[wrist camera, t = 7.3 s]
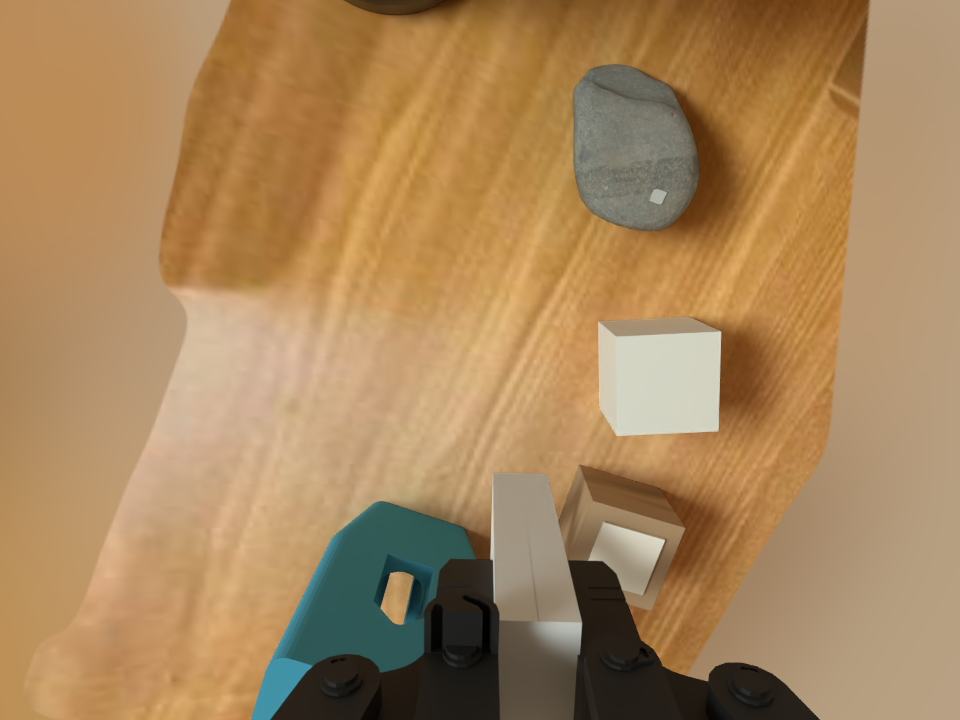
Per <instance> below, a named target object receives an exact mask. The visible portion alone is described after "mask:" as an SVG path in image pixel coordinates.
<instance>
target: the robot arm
mask: <svg viewBox="0 0 960 720" xmlns="http://www.w3.org/2000/svg"><path fill="white" fill-rule="evenodd" d="M345 1H346V2H348V3H350V4H352V5H354V6H357V7H359V8H362V9H365V10H368V11H372V12H376V13H383V14H408V13H414V12H418V11H422V10H425V9H428V8H431V7H434V6H436V5H438V4H440V3H442V2H444V1H446V0H345ZM270 720H820V719H819V718H818V717H817V716H816V715H815V714H814V713H813V712H812V711H811V710H810V709H809V708H808V707H807V706H806V705H805V704H804V703H803V702H802V701H801V700H800V699H799V698H798V697H797V696H796V695H795V694H794V693H793V692H792V691H791V690H790V689H789V688H788V686H787V685H786V684H784V683H783V682H782V681H781V680H779V679H778V678H777V677H776V676H774V675H773V674H772V673H769V672H767V671H765V670H763V669H761V668H759V667H757V666H753V665H749V664H745V663H724V664H721V665H719V666H716V667H715V668H714V669H713V670H712V671H711V673H710V674H709V681H708V682H707V681H704V680H700V679H696V678H692V677H688V676H684V675H681V674H678V673H676V672H673V671H671V670H669V669H667V668H665V667H663V666H662V664H661V661H660V659H659V657H658V656H657V654H656V653H655V651H654V650H653V649H652V648H651V647H649V646H648V645H647V644H645V643H644V642H643V641H641V639H640V637H639V634H638V631H637V628H636V626H635V623H634V620H633V618H632V615H631V612H630V609H629V607H628V604H627V602H626V598H625V596H624V593H623V591H622V587H621V585H620V582H619V579H618V577H617V574H616V573H615V572H614V571H613V570H612V569H611V568H610V567H609V566H608V565H607V564H606V563H604V562H603V561H584V560H567V556H566V552H565V548H564V544H563V539H562V535H561V531H560V527H559V522H558V518H557V514H556V510H555V505H554V501H553V497H552V493H551V488H550V484H549V480H548V476H547V474H531V473H493V486H492V523H491V560H483V559H449V561H448V562H447V563H446V564H445V565H444V566H443V567H442V568H441V570H440V571H439V578H438V586H437V592H436V598H434V599H433V600H432V601H430V602H429V603H428V605H427V607H426V609H425V611H424V653H423V655H422V656H421V657H419V658H418V659H417V660H416V661H414V662H412V663H411V664H409V665H407V666H405V667H401V668H398V669H395V670H390V671H386V672H381V673H380V670H379V667H378V666H377V665H376V664H375V663H374V662H373V661H372V660H371V659H369V658H366V657H363V656H361V655H355V654H341V655H336V656H331V657H328V658H326V659H324V660H322V661H320V662H318V663H316V664H315V665H313V666H312V667H311V668H310V669H309V670H308V671H307V672H306V673H305V674H304V676H303V677H302V678H301V679H300V681H299V682H298V683H297V685H296V686H295V687H294V689H293V690H292V691H291V693H290V694H289V695H288V697H287V698H286V699H285V701H284V702H283V703H282V705H281V706H280V707H279V709H278V710H277V711H276V713H275V714H274V715H273V716H272V718H271V719H270Z"/></svg>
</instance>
